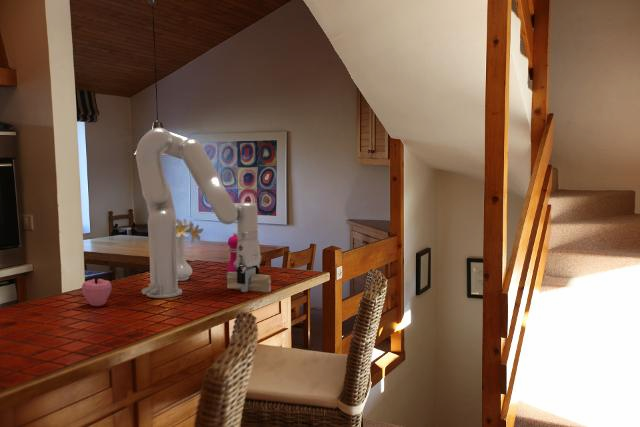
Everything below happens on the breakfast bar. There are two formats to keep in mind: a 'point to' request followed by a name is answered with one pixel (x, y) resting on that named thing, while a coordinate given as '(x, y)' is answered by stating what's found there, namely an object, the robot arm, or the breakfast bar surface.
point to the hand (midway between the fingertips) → (248, 281)
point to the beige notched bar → (257, 282)
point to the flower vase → (181, 231)
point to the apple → (96, 291)
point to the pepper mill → (232, 252)
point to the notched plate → (248, 274)
